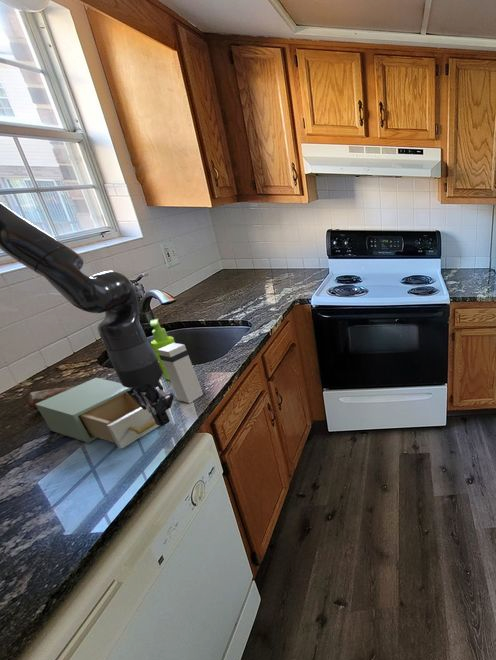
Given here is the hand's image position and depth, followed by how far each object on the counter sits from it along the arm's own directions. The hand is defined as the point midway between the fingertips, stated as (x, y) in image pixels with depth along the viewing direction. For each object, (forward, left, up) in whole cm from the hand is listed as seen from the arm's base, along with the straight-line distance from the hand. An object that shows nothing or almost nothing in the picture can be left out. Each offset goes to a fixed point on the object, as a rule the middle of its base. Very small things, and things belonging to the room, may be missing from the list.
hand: (163, 423), depth 89 cm
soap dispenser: (+24, +31, -6) cm, 40 cm away
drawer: (0, +13, -5) cm, 14 cm away
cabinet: (0, +28, -6) cm, 29 cm away
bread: (+5, +46, -6) cm, 47 cm away
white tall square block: (+16, +14, -6) cm, 22 cm away
